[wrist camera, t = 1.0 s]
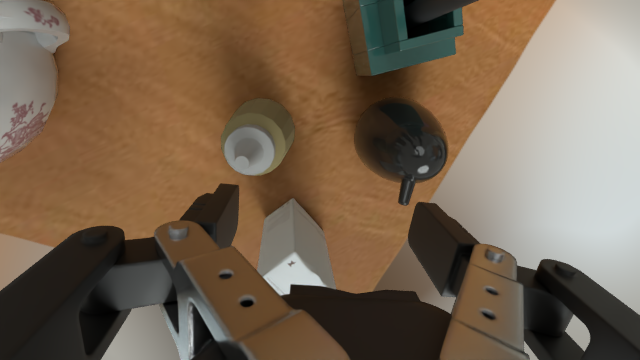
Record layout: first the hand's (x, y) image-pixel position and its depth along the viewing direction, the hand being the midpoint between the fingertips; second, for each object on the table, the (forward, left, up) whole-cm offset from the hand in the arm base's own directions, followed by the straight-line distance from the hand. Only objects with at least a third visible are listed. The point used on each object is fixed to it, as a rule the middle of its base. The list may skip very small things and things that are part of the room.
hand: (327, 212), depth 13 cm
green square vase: (-8, +12, -29) cm, 33 cm away
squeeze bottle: (0, -6, -30) cm, 30 cm away
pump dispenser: (+5, +10, -30) cm, 31 cm away
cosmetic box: (+16, -6, -30) cm, 34 cm away
